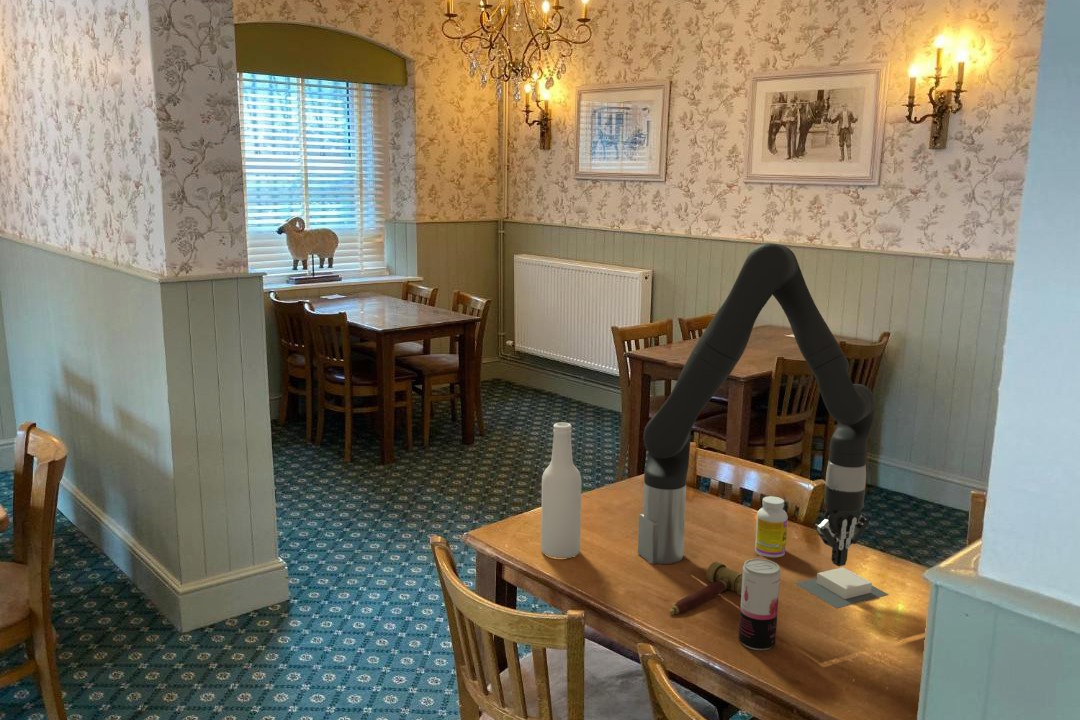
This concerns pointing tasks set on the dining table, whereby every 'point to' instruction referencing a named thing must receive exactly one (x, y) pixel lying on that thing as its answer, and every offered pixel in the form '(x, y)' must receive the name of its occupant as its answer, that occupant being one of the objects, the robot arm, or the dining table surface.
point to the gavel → (711, 587)
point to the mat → (834, 598)
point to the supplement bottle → (771, 528)
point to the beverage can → (759, 604)
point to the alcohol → (561, 499)
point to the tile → (844, 583)
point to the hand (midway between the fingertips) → (838, 564)
